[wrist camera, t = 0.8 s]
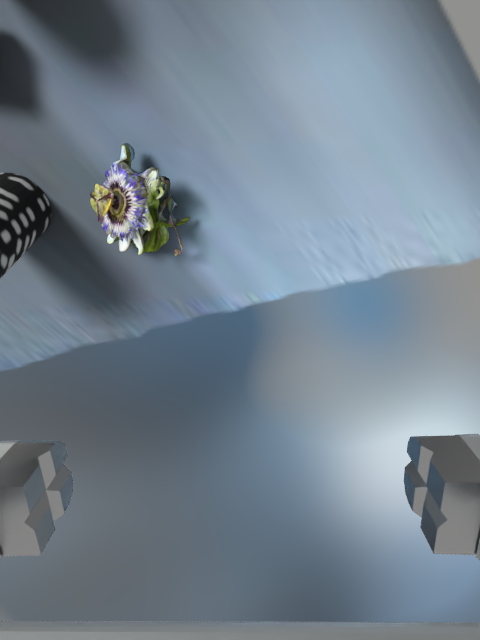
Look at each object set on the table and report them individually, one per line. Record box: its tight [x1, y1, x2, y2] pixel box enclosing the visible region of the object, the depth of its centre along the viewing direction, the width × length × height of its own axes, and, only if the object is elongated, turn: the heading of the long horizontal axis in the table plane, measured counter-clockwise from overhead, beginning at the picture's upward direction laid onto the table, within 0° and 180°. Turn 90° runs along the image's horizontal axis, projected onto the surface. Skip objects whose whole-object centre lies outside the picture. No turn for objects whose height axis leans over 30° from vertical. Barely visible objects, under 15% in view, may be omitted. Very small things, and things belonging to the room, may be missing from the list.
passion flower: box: [90, 143, 190, 256], centre depth 48 cm, size 11×11×12 cm
